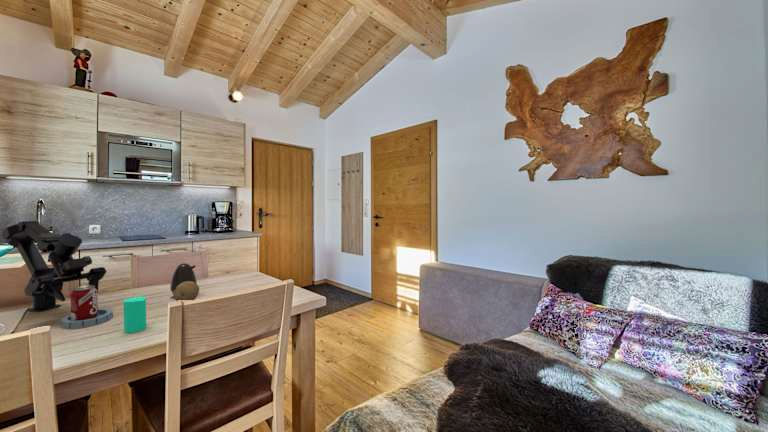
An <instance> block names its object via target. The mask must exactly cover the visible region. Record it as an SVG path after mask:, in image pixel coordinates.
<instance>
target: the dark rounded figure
mask: <svg viewBox="0 0 768 432" xmlns="http://www.w3.org/2000/svg"><path fill="white" fill-rule="evenodd" d="M196 267H197V266H196V265H192V266H191V264H189V263H186V262H185V263H183V262H182V263H180V264H179V265H177V266H176V268H175V270H174V272H173V275H172V277H171V282H170V291H171V293H172V295H173V294H174V291H175V289H176V287H177V286H178V285H179V284H181V283H183V282H186V281H192V282H195V283H196V284H197V285H198V283H197V282H198V281H197V277H196V274H195V272H194V271H195V270H194V269H195V268H196Z"/></svg>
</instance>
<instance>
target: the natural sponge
mask: <svg viewBox="0 0 768 432" xmlns="http://www.w3.org/2000/svg"><path fill="white" fill-rule="evenodd" d="M199 286H200V285H199V284H198V283H197V284H196V283H195V282H192V281H186V282H183V283H181V284H179V285H178V286H177V287H176V289H175V291H174V294H172V296H173V299H174V300H175V301H177V302H178V300H194V299H195V300H196V299H197V297H198V295H199V294H200V293H199V292H200V287H199ZM195 300H194V301H195Z"/></svg>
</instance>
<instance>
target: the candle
mask: <svg viewBox="0 0 768 432" xmlns="http://www.w3.org/2000/svg"><path fill="white" fill-rule="evenodd" d="M146 328H147V298H146V297H145V296H141V295H140V296H134V297H133V296H132V297H130V298H127V299H124V300H123V332H124V333H126V334H129V333H130V334H131V333H136V332H141V331H143V330H145V329H146Z"/></svg>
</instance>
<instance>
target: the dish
mask: <svg viewBox="0 0 768 432" xmlns="http://www.w3.org/2000/svg"><path fill="white" fill-rule="evenodd" d="M113 313H114V312H113V310H112V309H111V308H106V307H105V308H104V307H102V308H98V316H97V317H96V318H92V319H87V320H79V321H71V313H70V314H67V315H65V316H63V317H61V319H60V324H61V325H60V327H61V328H62V329H68V330H73V329H82V328H89V327H93V326H97V325H101V324H103V323H106V322H107V321H110V320H112V319H113V318H114V317H113V316H114V314H113Z"/></svg>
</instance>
